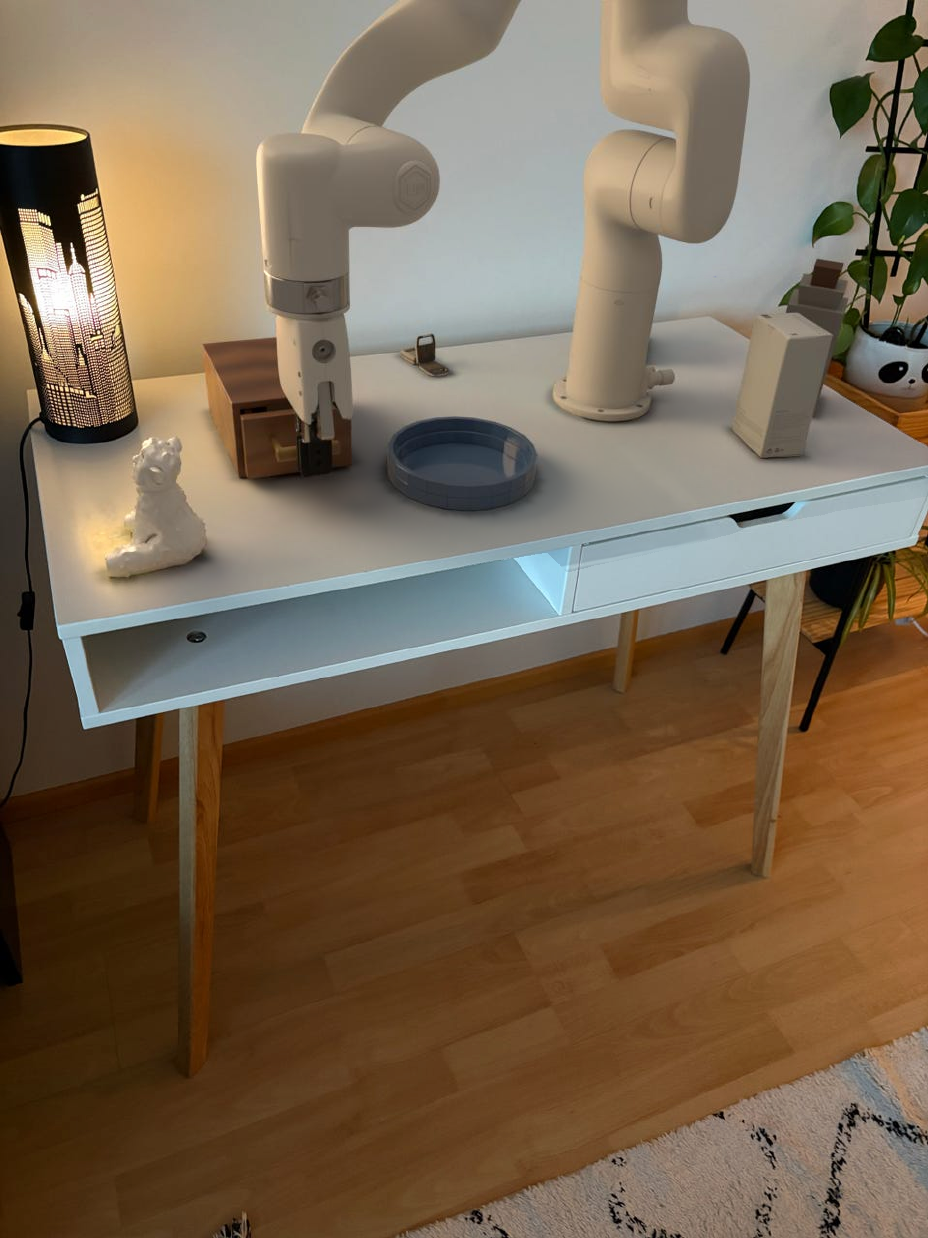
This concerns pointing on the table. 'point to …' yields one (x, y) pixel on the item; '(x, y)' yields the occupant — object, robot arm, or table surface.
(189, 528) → the sitting furry creature
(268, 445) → the drawer
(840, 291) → the perfume bottle
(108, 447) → the table surface
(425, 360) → the strap clip
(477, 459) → the plate
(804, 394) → the cosmetic box
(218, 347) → the cabinet
